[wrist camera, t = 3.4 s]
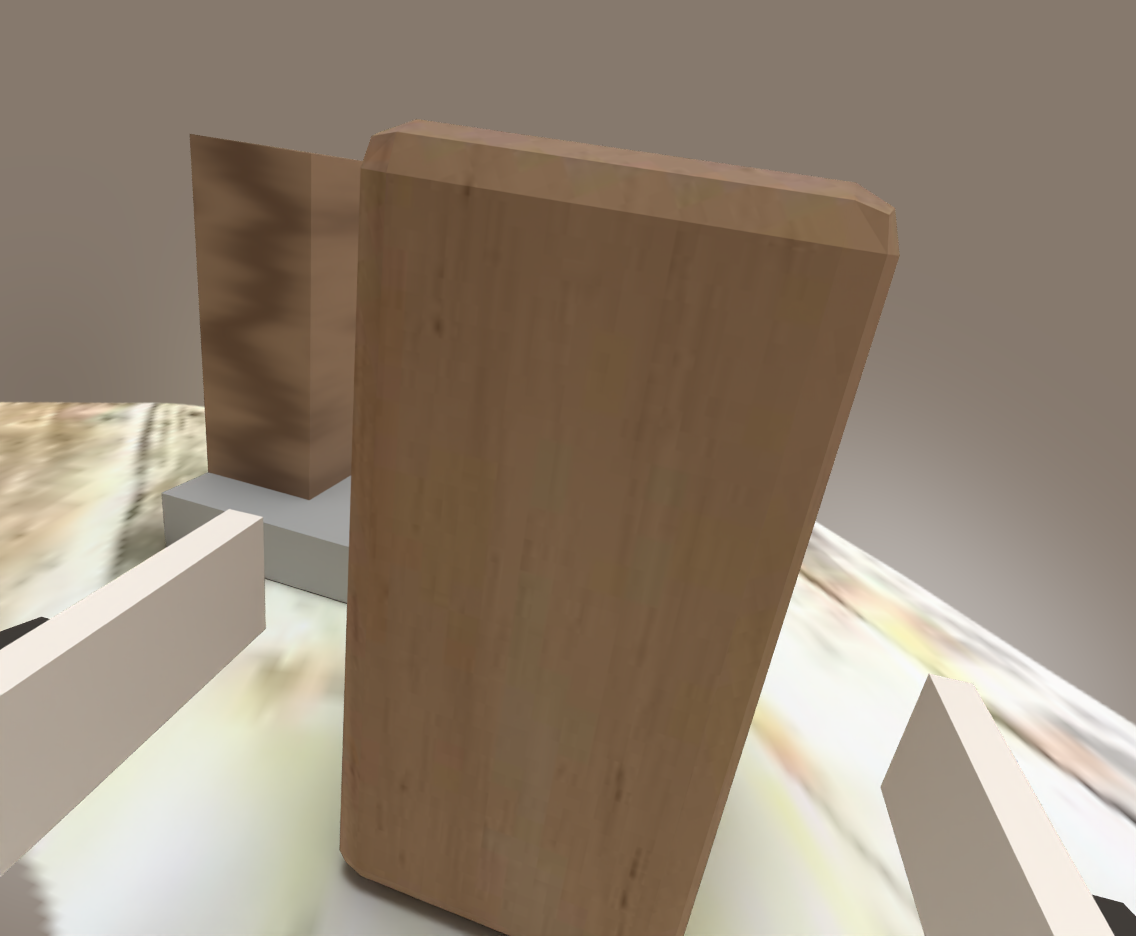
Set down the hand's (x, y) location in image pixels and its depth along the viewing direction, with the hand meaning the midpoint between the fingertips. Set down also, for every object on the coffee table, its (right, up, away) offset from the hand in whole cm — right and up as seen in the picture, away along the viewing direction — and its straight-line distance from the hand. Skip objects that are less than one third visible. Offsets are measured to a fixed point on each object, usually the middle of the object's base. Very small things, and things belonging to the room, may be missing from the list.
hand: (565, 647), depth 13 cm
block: (-1, -8, +10) cm, 13 cm away
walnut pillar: (-15, +4, +24) cm, 29 cm away
